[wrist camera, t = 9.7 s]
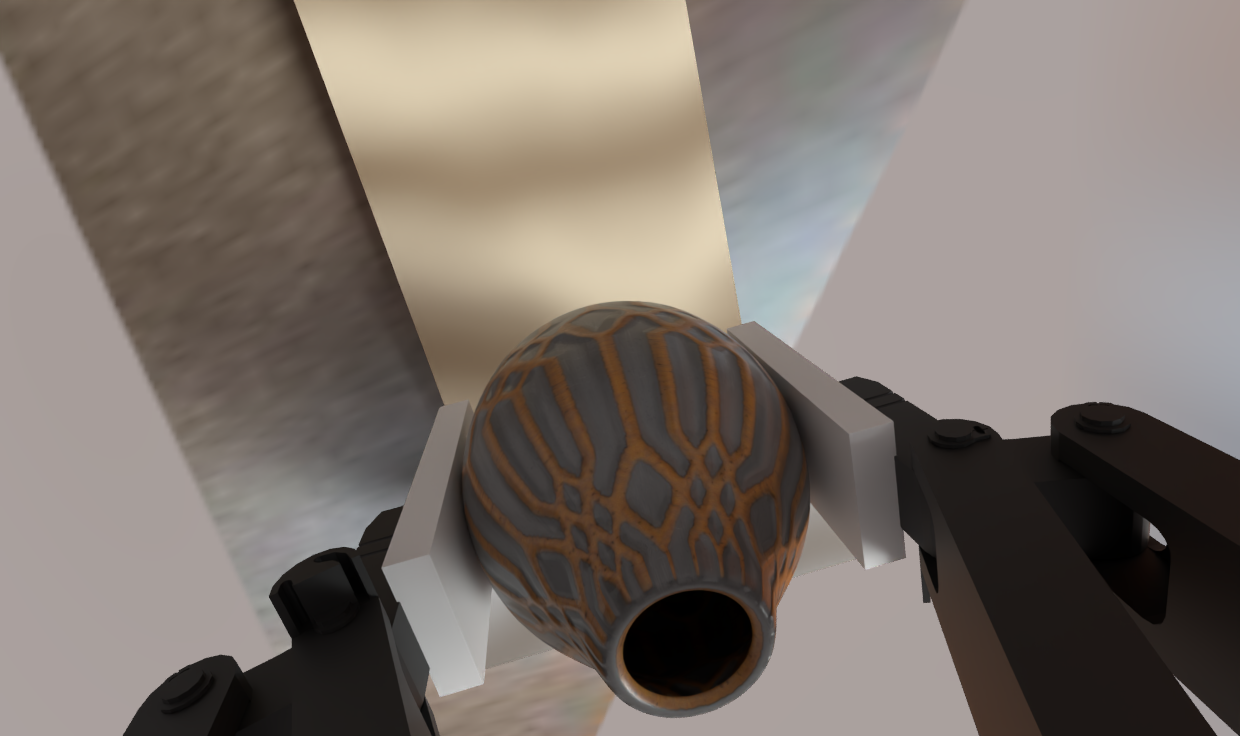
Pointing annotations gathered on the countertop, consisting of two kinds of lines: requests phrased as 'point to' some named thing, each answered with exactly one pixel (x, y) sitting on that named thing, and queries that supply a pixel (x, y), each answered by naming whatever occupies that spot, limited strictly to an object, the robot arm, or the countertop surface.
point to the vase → (640, 501)
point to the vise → (531, 179)
